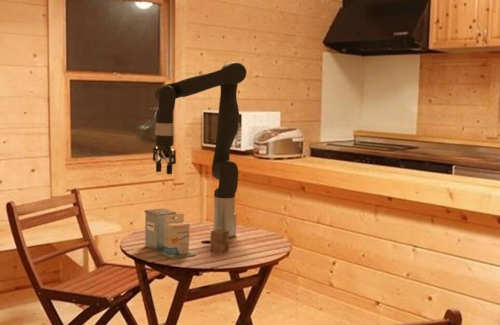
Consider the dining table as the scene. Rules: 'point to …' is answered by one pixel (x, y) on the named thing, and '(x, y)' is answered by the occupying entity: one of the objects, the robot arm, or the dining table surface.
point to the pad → (176, 255)
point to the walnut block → (219, 241)
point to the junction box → (156, 228)
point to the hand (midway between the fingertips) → (163, 173)
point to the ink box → (176, 235)
